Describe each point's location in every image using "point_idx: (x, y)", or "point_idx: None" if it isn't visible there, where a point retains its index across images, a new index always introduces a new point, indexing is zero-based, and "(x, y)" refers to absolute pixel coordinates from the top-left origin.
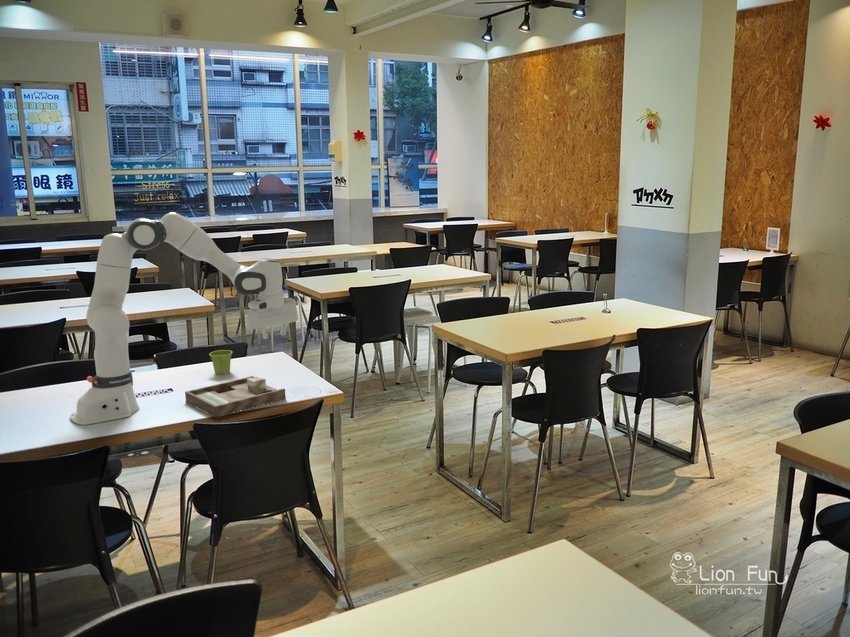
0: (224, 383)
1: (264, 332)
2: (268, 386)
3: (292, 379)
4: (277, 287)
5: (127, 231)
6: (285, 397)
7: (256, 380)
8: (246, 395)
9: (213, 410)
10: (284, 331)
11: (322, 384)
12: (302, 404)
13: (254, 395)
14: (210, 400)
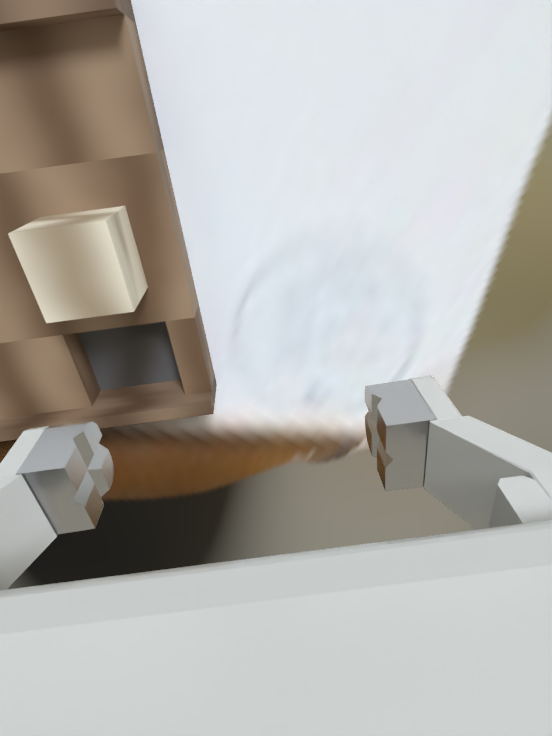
0: None
1: (2, 580)
2: (173, 252)
3: (423, 54)
4: None
5: None
6: (215, 389)
7: (68, 313)
8: (17, 332)
9: None
10: (424, 474)
11: (475, 286)
12: (248, 468)
13: (60, 356)
14: None
